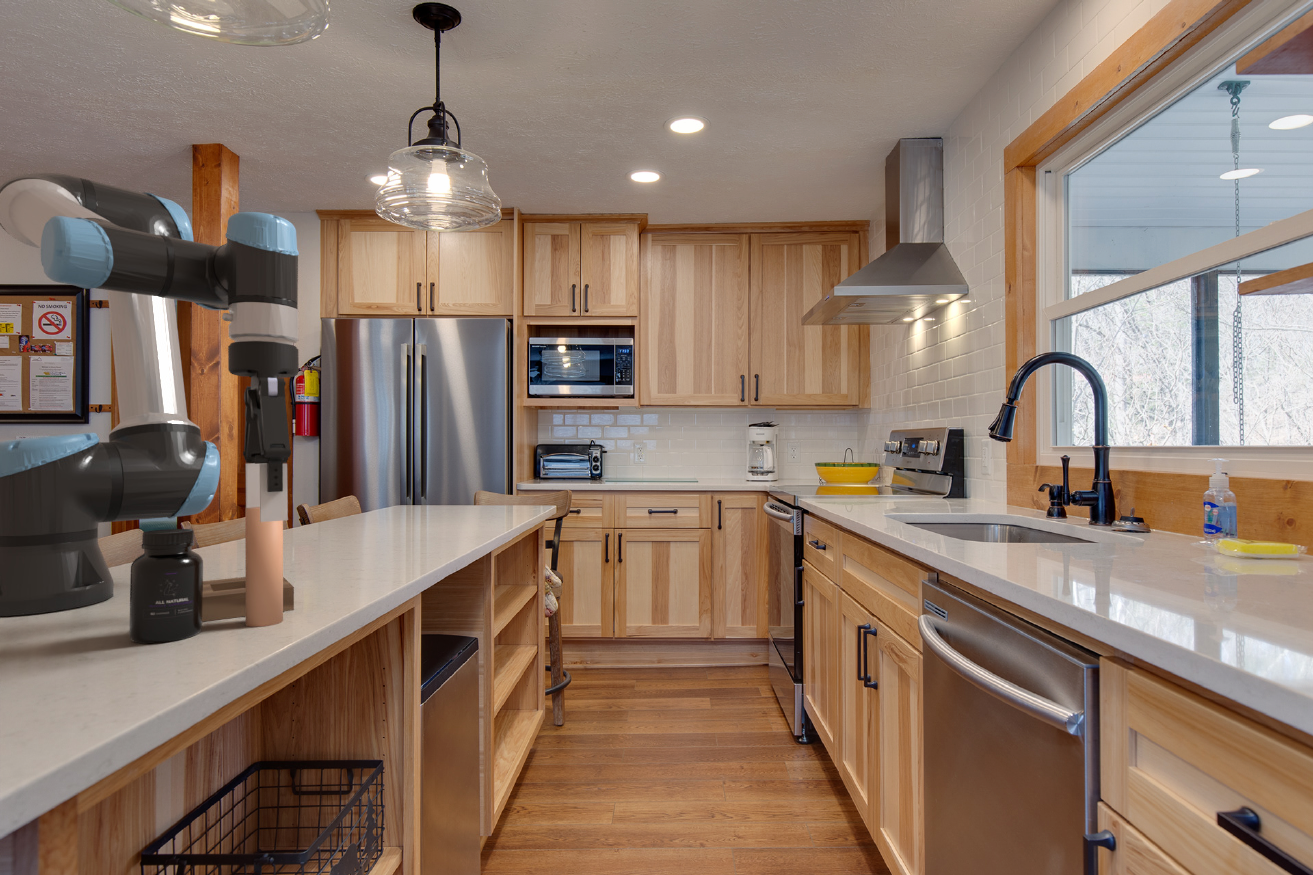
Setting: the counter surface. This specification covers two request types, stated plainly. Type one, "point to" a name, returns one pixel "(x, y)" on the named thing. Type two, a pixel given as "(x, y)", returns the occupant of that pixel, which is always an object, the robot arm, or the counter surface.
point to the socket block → (233, 598)
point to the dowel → (263, 570)
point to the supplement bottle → (166, 588)
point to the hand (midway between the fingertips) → (265, 517)
